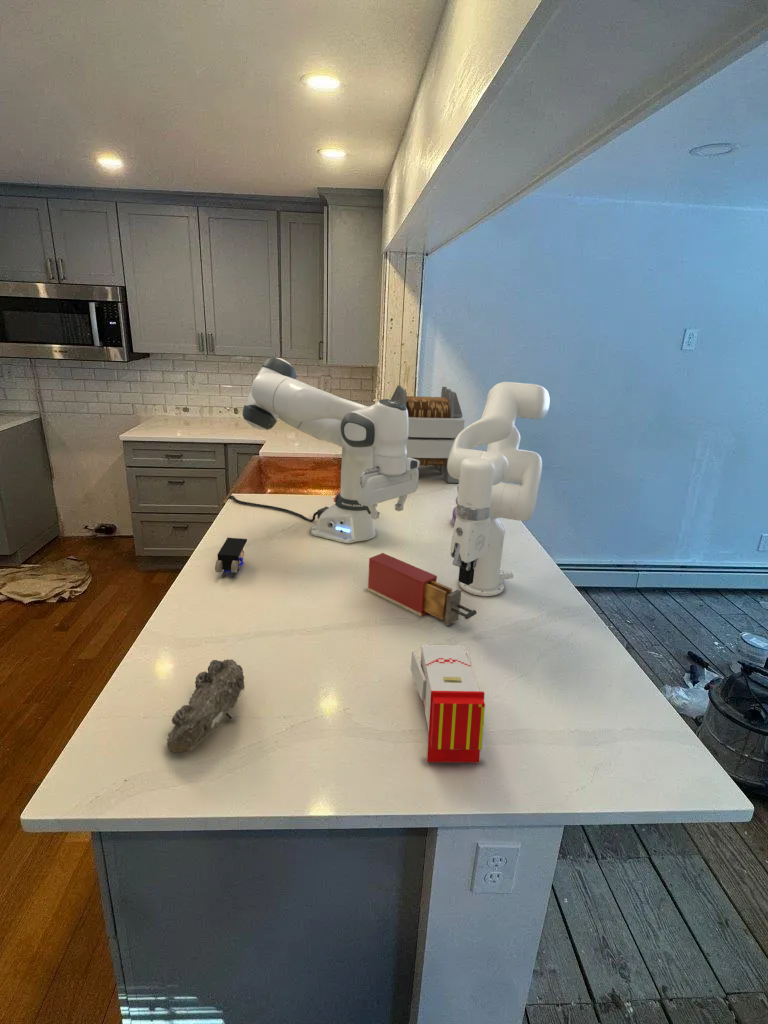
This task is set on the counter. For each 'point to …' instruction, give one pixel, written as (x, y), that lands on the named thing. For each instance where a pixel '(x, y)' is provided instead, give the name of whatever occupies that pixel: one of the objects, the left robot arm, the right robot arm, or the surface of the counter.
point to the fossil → (206, 705)
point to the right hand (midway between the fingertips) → (465, 582)
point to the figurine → (455, 509)
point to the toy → (450, 703)
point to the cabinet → (398, 582)
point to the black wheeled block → (230, 556)
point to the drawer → (444, 603)
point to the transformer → (432, 427)
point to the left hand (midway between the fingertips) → (387, 514)
